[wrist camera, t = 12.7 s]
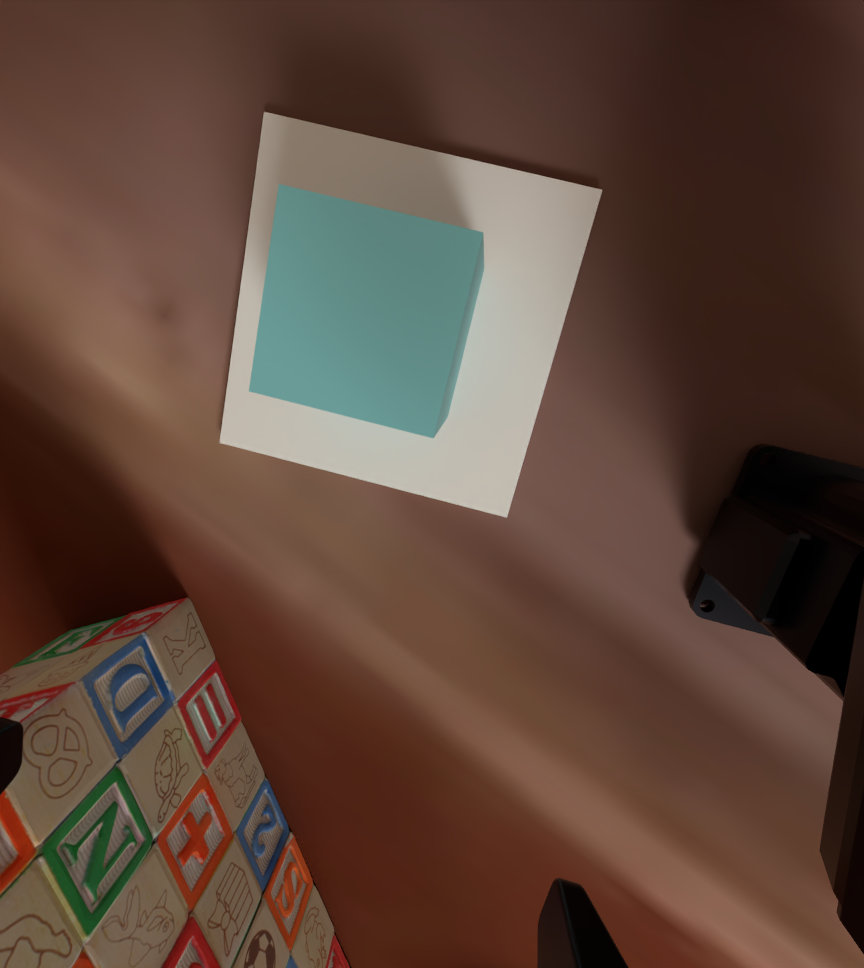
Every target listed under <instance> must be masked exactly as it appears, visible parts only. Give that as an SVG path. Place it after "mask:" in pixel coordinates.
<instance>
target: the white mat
mask: <svg viewBox="0 0 864 968" xmlns="http://www.w3.org/2000/svg"><path fill="white" fill-rule="evenodd" d="M279 184H281V185H286V186H290V187H294V188H298V189H303V190H307V191H311V192H315V193H319V194H324V195H328V196H332V197H336V198H341V199H345V200H349V201H353V202H357V203H362V204H366V205H370V206H374V207H379V208H383V209H387V210H391V211H396V212H400V213H404V214H408V215H412V216H417V217H421V218H425V219H429V220H434V221H438V222H442V223H446V224H450V225H455V226H459V227H463V228H467V229H472V230H476V231H480V232H483V235H484V272H483V276H482V281H481V285H480V289H479V293H478V297H477V301H476V305H475V309H474V313H473V317H472V321H471V325H470V329H469V333H468V337H467V341H466V345H465V349H464V353H463V358H462V362H461V366H460V370H459V374H458V378H457V382H456V386H455V390H454V394H453V398H452V402H451V406H450V410H449V414H448V418H447V419H446V421H445V422H444V424H443V425H442V427H441V428H440V430H439V431H438V432H437V434H436V435H435V437H434V438H430V437H426V436H422V435H418V434H414V433H410V432H406V431H402V430H398V429H394V428H390V427H387V426H383V425H379V424H375V423H371V422H367V421H363V420H359V419H355V418H351V417H347V416H343V415H339V414H336V413H332V412H328V411H324V410H320V409H316V408H312V407H308V406H304V405H300V404H296V403H292V402H289V401H285V400H281V399H277V398H273V397H269V396H265V395H261V394H257V393H253V392H249V386H250V379H251V372H252V365H253V358H254V351H255V344H256V337H257V331H258V324H259V317H260V310H261V303H262V296H263V289H264V282H265V275H266V268H267V261H268V255H269V248H270V241H271V234H272V227H273V220H274V213H275V206H276V199H277V192H278V186H279ZM601 193H602V190H601V189H597V188H592V187H588V186H584V185H579V184H575V183H571V182H566V181H562V180H558V179H553V178H549V177H545V176H540V175H536V174H532V173H527V172H523V171H519V170H514V169H510V168H506V167H501V166H497V165H493V164H488V163H484V162H480V161H475V160H471V159H467V158H462V157H458V156H454V155H449V154H445V153H441V152H436V151H432V150H428V149H423V148H419V147H415V146H411V145H406V144H402V143H398V142H393V141H389V140H385V139H380V138H376V137H372V136H367V135H363V134H359V133H354V132H350V131H346V130H341V129H337V128H333V127H328V126H324V125H320V124H315V123H311V122H307V121H302V120H298V119H294V118H289V117H285V116H281V115H276V114H272V113H268V112H264V115H263V123H262V130H261V138H260V145H259V153H258V160H257V168H256V175H255V182H254V190H253V197H252V205H251V212H250V220H249V227H248V235H247V242H246V250H245V257H244V264H243V272H242V279H241V287H240V294H239V302H238V309H237V317H236V324H235V332H234V339H233V346H232V354H231V361H230V369H229V376H228V384H227V391H226V399H225V406H224V413H223V421H222V428H221V436H220V443H223V444H227V445H230V446H234V447H238V448H242V449H246V450H250V451H253V452H257V453H261V454H265V455H269V456H273V457H276V458H280V459H284V460H288V461H292V462H296V463H299V464H303V465H307V466H311V467H315V468H319V469H322V470H326V471H330V472H334V473H338V474H342V475H345V476H349V477H353V478H357V479H361V480H365V481H369V482H372V483H376V484H380V485H384V486H388V487H392V488H395V489H399V490H403V491H407V492H411V493H415V494H418V495H422V496H426V497H430V498H434V499H438V500H441V501H445V502H449V503H453V504H457V505H461V506H464V507H468V508H472V509H476V510H480V511H484V512H487V513H491V514H495V515H499V516H503V517H507V515H508V512H509V509H510V505H511V502H512V498H513V495H514V491H515V488H516V485H517V481H518V478H519V474H520V471H521V467H522V464H523V461H524V457H525V454H526V450H527V447H528V444H529V440H530V437H531V433H532V430H533V426H534V423H535V420H536V416H537V413H538V409H539V406H540V402H541V399H542V396H543V392H544V389H545V385H546V382H547V378H548V375H549V372H550V368H551V365H552V361H553V358H554V354H555V351H556V348H557V344H558V341H559V337H560V334H561V330H562V327H563V324H564V320H565V317H566V313H567V310H568V306H569V303H570V300H571V296H572V293H573V289H574V286H575V282H576V279H577V276H578V272H579V269H580V265H581V262H582V258H583V255H584V252H585V248H586V245H587V241H588V238H589V234H590V231H591V228H592V224H593V221H594V217H595V214H596V210H597V207H598V204H599V200H600V197H601Z"/></svg>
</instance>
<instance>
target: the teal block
mask: <svg viewBox="0 0 864 968" xmlns="http://www.w3.org/2000/svg"><path fill="white" fill-rule="evenodd" d="M483 272H484V235H483V232H480V231H476V230H472V229H467V228H463V227H459V226H455V225H450V224H446V223H442V222H438V221H434V220H429V219H425V218H421V217H417V216H412V215H408V214H404V213H400V212H396V211H391V210H387V209H383V208H379V207H374V206H370V205H366V204H362V203H357V202H353V201H349V200H345V199H341V198H336V197H332V196H328V195H324V194H319V193H315V192H311V191H307V190H303V189H298V188H294V187H290V186H286V185H281V184H279V186H278V192H277V199H276V206H275V213H274V220H273V227H272V234H271V241H270V248H269V255H268V261H267V268H266V275H265V282H264V289H263V296H262V303H261V310H260V317H259V324H258V331H257V337H256V344H255V351H254V358H253V365H252V372H251V379H250V386H249V392H253V393H257V394H261V395H265V396H269V397H273V398H277V399H281V400H285V401H289V402H292V403H296V404H300V405H304V406H308V407H312V408H316V409H320V410H324V411H328V412H332V413H336V414H339V415H343V416H347V417H351V418H355V419H359V420H363V421H367V422H371V423H375V424H379V425H383V426H387V427H390V428H394V429H398V430H402V431H406V432H410V433H414V434H418V435H422V436H426V437H430V438H434V437H435V435H436V434H437V432H438V431H439V430H440V428H441V427H442V425H443V424H444V422H445V421H446V419H447V418H448V414H449V410H450V406H451V402H452V398H453V394H454V390H455V386H456V382H457V378H458V374H459V370H460V366H461V362H462V358H463V353H464V349H465V345H466V341H467V337H468V333H469V329H470V325H471V321H472V317H473V313H474V309H475V305H476V301H477V297H478V293H479V289H480V285H481V281H482V276H483Z"/></svg>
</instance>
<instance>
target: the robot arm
mask: <svg viewBox="0 0 864 968" xmlns="http://www.w3.org/2000/svg"><path fill="white" fill-rule="evenodd" d="M766 453H769V455H770V460H769V462H768V463H767V464H765V465H763V466H761V464H760V459H761V457H762V456H763V455H764V454H766ZM699 563H700V565H701V567H702V568H701V570H700V573H699V575H698V578H697V580H696V583H695V585H694V588H693V590H692V592H691V595H690V597H689V605H690V607H691V609H692V610H693V611H694V612H695V613H696V615H697V616H699V617H701V618H704V619H708V620H711V621H715V622H719V623H723V624H727V625H730V626H734V627H738V628H742V629H745V630H749V631H753V632H757V633H761V634H764V635H768V636H772V637H775V638H776V639H777V640H778V641H779V642H780V643H781V644H782V645H783V646H784V647H785V648H786V649H787V650H788V651H789V652H790V653H791V654H792V655H793V656H794V657H795V658H796V659H798V660H799V661H800V662H801V663H802V664H803V665H804V666H805V667H806V668H807V669H808V670H810V671H811V672H813V673H815V674H816V675H817V676H818V677H819V678H820V679H821V680H822V681H823V682H824V683H825V684H826V685H827V686H828V687H829V688H830V689H831V690H832V691H833V692H834V693H835V694H836V695H838V696H839V697H840V698H841V699H842V700H843V707H842V713H841V719H840V725H839V731H838V738H837V744H836V750H835V756H834V762H833V768H832V774H831V780H830V786H829V793H828V799H827V805H826V811H825V817H824V823H823V830H822V837H821V844H820V853H821V856H822V859H823V862H824V865H825V868H826V871H827V874H828V877H829V880H830V883H831V886H832V889H833V892H834V894H835V895H836V897H837V899H838V901H839V902H838V907H837V914H838V917H839V919H840V921H841V922H842V924H843V925H844V927H845V928H846V930H847V931H848V932H849V934H850V935H851V937H852V938H853V940H854V941H855V942H856V944H857V945H858V947H859V948H860V950H861V951H862V952H863V954H864V468H861V467H857V466H853V465H849V464H845V463H841V462H837V461H833V460H829V459H825V458H821V457H817V456H813V455H809V454H805V453H801V452H797V451H793V450H789V449H785V448H781V447H777V446H773V445H769V444H760V445H757V446H755V447H753V448H752V449H751V450H750V451H749V453H748V455H747V457H746V459H745V462H744V464H743V467H742V469H741V472H740V474H739V477H738V479H737V482H736V484H735V487H734V489H733V491H732V494H731V495H730V496H729V497H727V498H726V499H724V501H723V503H722V506H721V508H720V510H719V513H718V515H717V518H716V520H715V523H714V525H713V528H712V530H711V533H710V535H709V538H708V540H707V543H706V545H705V548H704V550H703V553H702V555H701V558H700V560H699ZM704 600H710V603H709V605H708V606H706V607H700V604H701V603H702V601H704ZM23 734H24V729H23V726H22V724H21V723H20V722H17V721H14V720H10V719H7V718H3V717H0V795H1V794H2V793H3V791H4V790H5V789H6V788H7V787H8V785H9V784H10V783H11V782H12V781H13V779H14V778H15V777H16V775H17V773H18V772H19V770H20V767H21V764H22V759H23ZM538 968H628V966H627V964H626V962H625V960H624V959H623V957H622V955H621V953H620V952H619V950H618V948H617V946H616V945H615V943H614V941H613V939H612V937H611V936H610V934H609V932H608V930H607V929H606V927H605V925H604V923H603V921H602V920H601V918H600V916H599V914H598V913H597V911H596V909H595V907H594V905H593V904H592V902H591V900H590V898H589V897H588V895H587V893H586V891H585V890H584V888H583V887H582V886H581V885H580V884H578V883H575V882H571V881H568V880H564V879H561V878H557V879H555V880H554V881H553V883H552V885H551V888H550V890H549V893H548V896H547V898H546V901H545V903H544V906H543V908H542V911H541V914H540V917H539V923H538Z"/></svg>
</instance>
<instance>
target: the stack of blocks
mask: <svg viewBox="0 0 864 968" xmlns="http://www.w3.org/2000/svg"><path fill="white" fill-rule="evenodd" d="M0 717H3V718H7V719H10V720H14V721H17V722H20V723H21V724H22V726H23V729H24V734H23V759H22V764H21V767H20V770H19V772H18V773H17V775H16V777H15V778H14V779H13V781H12V782H11V783H10V784H9V785H8V787H7V788H6V789H5V790H4V791H3V793H2V794H1V795H0V968H350V967H349V964H348V962H347V960H346V958H345V956H344V954H343V952H342V949H341V947H340V945H339V943H338V941H337V939H336V936H335V934H334V927H333V925H332V922H331V920H330V918H329V915H328V913H327V911H326V908H325V906H324V904H323V902H322V899H321V897H320V895H319V892H318V891H317V889H316V887H315V885H314V884H313V880H312V877H311V875H310V872H309V870H308V867H307V865H306V863H305V860H304V858H303V856H302V853H301V851H300V848H299V846H298V844H297V842H296V840H295V837H294V835H293V833H292V832H290V831H289V827H288V824H287V822H286V820H285V818H284V815H283V813H282V811H281V809H280V806H279V804H278V802H277V800H276V798H275V795H274V793H273V791H272V788H271V786H270V783H269V781H268V780H267V778H266V777H265V775H264V771H263V769H262V766H261V764H260V762H259V760H258V758H257V755H256V753H255V750H254V748H253V746H252V744H251V742H250V740H249V737H248V735H247V732H246V730H245V728H244V726H243V724H242V722H241V715H240V713H239V711H238V708H237V706H236V703H235V701H234V699H233V697H232V695H231V692H230V690H229V688H228V685H227V683H226V681H225V678H224V676H223V674H222V672H221V669H220V667H219V665H218V663H217V660H216V659H215V655H214V652H213V650H212V647H211V645H210V643H209V640H208V638H207V636H206V634H205V631H204V629H203V627H202V624H201V622H200V620H199V617H198V615H197V613H196V611H195V608H194V606H193V604H192V602H191V600H190V599H189V598H188V597H187V598H183V599H179V600H175V601H172V602H168V603H164V604H161V605H157V606H153V607H150V608H146V609H143V610H139V611H136V612H132V613H129V614H128V615H125V616H122V617H118V618H114V619H110V620H107V621H103V622H99V623H95V624H92V625H88V626H84V627H81V628H76V629H72V630H70V631H68V632H66V633H64V634H63V635H61V636H59V637H58V638H56V639H55V640H53V641H51V642H50V643H48V644H47V645H45V646H43V647H42V648H40V649H39V650H38V651H36V652H34V653H33V654H31V655H30V656H28V657H27V658H25V659H24V660H22V661H20V662H19V663H17V664H16V665H14V666H13V667H11V669H10V670H8V671H6V672H4V673H3V674H1V675H0Z"/></svg>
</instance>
